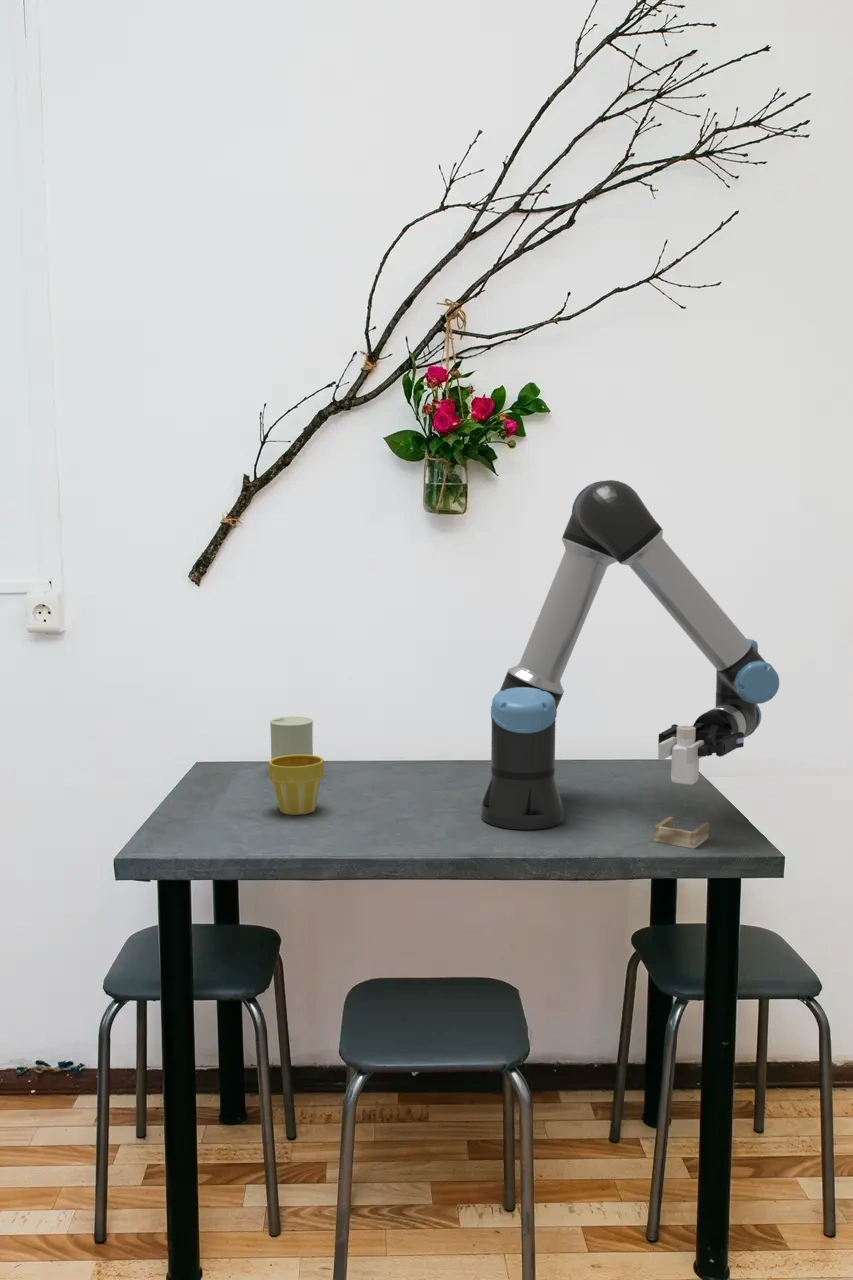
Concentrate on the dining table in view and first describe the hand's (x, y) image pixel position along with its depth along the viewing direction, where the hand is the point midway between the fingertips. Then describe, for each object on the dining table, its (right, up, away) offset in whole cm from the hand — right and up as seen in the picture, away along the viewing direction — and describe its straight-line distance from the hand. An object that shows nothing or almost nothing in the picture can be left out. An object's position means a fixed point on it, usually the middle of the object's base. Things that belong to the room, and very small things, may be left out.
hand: (674, 753), depth 178 cm
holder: (+3, -16, +7) cm, 17 cm away
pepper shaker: (+3, -6, +5) cm, 8 cm away
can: (-70, -10, +52) cm, 88 cm away
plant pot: (-66, -14, +24) cm, 71 cm away
